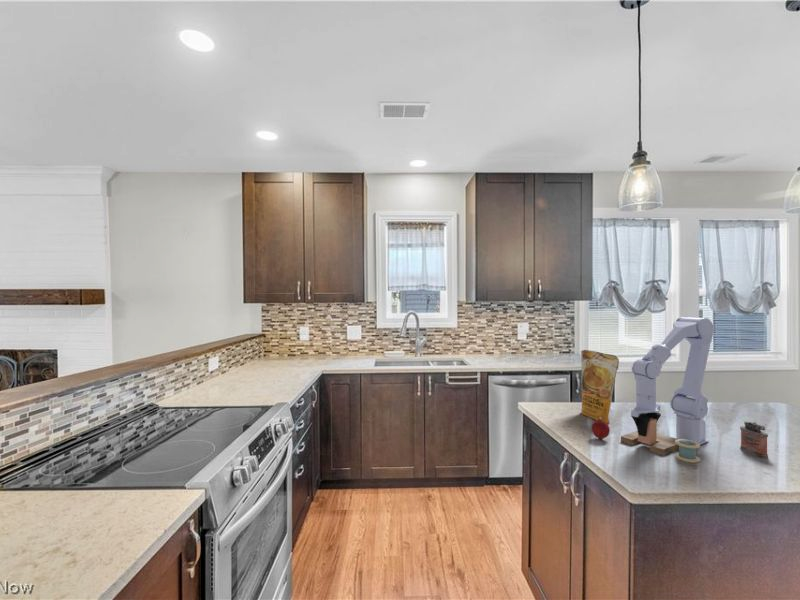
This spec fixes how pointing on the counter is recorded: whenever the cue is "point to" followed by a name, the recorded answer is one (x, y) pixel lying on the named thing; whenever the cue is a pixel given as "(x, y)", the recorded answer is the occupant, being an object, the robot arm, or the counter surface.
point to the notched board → (660, 447)
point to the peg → (649, 433)
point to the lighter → (754, 439)
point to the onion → (600, 429)
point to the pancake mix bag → (597, 383)
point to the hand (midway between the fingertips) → (646, 434)
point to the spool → (687, 450)
